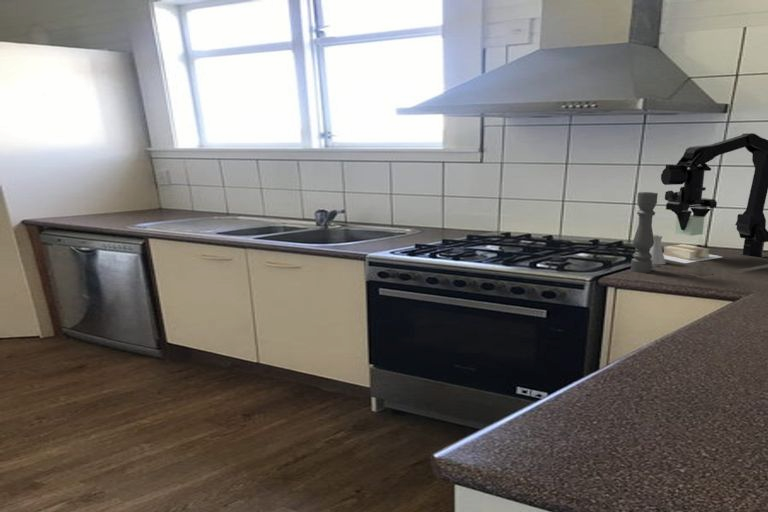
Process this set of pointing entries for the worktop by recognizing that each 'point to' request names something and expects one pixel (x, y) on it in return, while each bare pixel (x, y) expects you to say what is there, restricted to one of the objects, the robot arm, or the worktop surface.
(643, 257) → the candle holder
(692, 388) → the worktop surface
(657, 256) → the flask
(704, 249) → the birch plinth
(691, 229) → the sage cube
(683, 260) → the pale blue-grey board
